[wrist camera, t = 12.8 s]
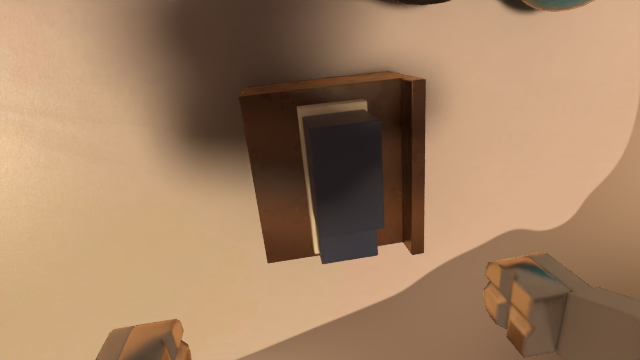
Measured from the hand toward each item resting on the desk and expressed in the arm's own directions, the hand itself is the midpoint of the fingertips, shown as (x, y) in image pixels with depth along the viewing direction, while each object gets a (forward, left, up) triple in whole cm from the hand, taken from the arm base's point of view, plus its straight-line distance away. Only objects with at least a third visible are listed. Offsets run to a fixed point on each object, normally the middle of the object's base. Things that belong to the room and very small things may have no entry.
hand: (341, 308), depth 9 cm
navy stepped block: (+3, +3, -17) cm, 18 cm away
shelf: (+3, +3, -23) cm, 23 cm away
